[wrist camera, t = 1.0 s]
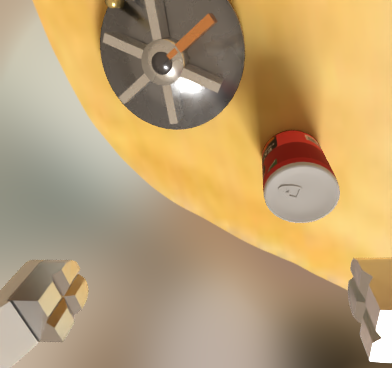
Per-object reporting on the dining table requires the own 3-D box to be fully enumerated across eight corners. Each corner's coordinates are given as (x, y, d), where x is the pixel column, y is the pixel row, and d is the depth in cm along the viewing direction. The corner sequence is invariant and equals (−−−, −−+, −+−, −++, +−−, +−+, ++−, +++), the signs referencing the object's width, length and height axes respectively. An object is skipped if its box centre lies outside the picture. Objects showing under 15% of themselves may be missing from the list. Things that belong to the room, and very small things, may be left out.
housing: (211, -66, 30) (205, -77, 26) (264, 96, 37) (265, 106, 34) (81, 15, 36) (61, 15, 32) (147, 141, 44) (137, 153, 40)
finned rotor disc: (179, -37, 30) (170, -43, 27) (247, 65, 34) (246, 70, 31) (96, 53, 36) (82, 56, 33) (162, 131, 40) (155, 140, 37)
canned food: (261, 129, 40) (264, 165, 30) (323, 126, 38) (346, 163, 29) (261, 177, 43) (263, 223, 34) (317, 177, 42) (335, 224, 32)
